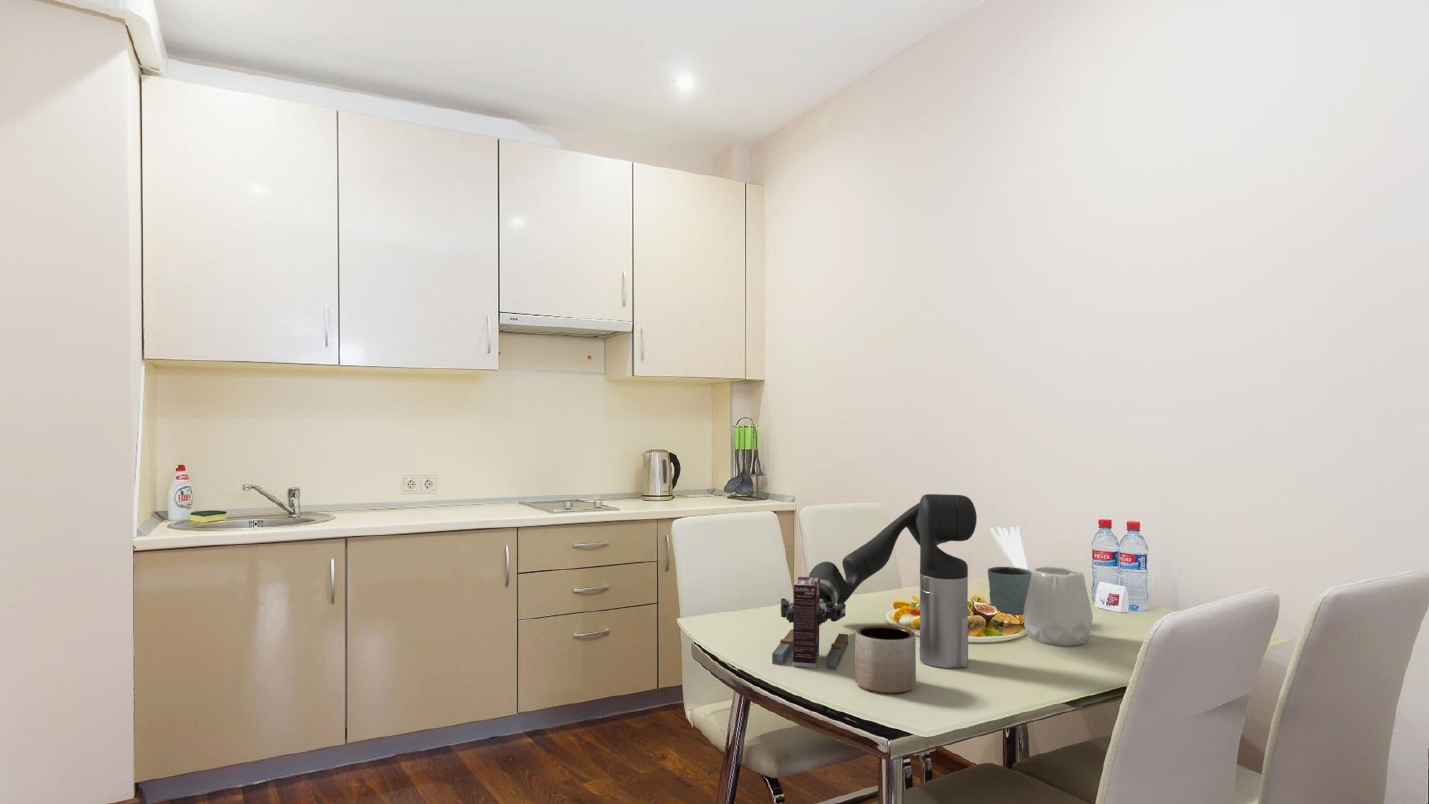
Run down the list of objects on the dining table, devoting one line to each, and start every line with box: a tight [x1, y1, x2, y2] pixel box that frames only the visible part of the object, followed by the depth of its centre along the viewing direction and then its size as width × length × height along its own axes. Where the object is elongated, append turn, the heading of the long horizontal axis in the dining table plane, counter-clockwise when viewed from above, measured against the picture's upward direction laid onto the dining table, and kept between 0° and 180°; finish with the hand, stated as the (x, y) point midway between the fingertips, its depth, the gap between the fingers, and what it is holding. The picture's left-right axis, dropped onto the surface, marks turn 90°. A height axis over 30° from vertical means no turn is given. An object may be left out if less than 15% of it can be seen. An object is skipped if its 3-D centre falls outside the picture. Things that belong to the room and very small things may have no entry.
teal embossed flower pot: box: [987, 566, 1032, 615], centre depth 193 cm, size 10×10×12 cm
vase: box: [1023, 566, 1094, 647], centre depth 176 cm, size 14×14×15 cm
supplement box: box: [791, 576, 820, 669], centre depth 159 cm, size 9×5×16 cm, turn 168°
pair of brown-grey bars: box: [771, 628, 849, 671], centre depth 164 cm, size 12×19×3 cm, turn 163°
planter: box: [854, 624, 917, 695], centre depth 145 cm, size 11×11×10 cm
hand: (804, 618), depth 156 cm, fingers closed on supplement box, 5 cm apart
